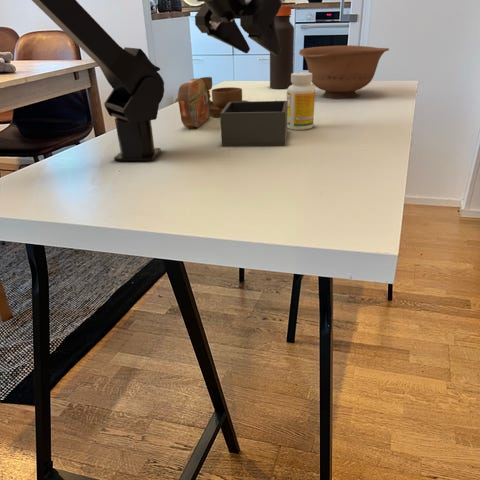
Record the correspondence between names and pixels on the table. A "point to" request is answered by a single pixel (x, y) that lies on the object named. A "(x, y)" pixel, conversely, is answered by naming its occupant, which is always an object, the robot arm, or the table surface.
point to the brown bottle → (283, 51)
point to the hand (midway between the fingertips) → (263, 52)
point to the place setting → (222, 97)
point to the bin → (254, 123)
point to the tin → (194, 102)
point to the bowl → (342, 68)
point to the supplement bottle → (300, 102)
